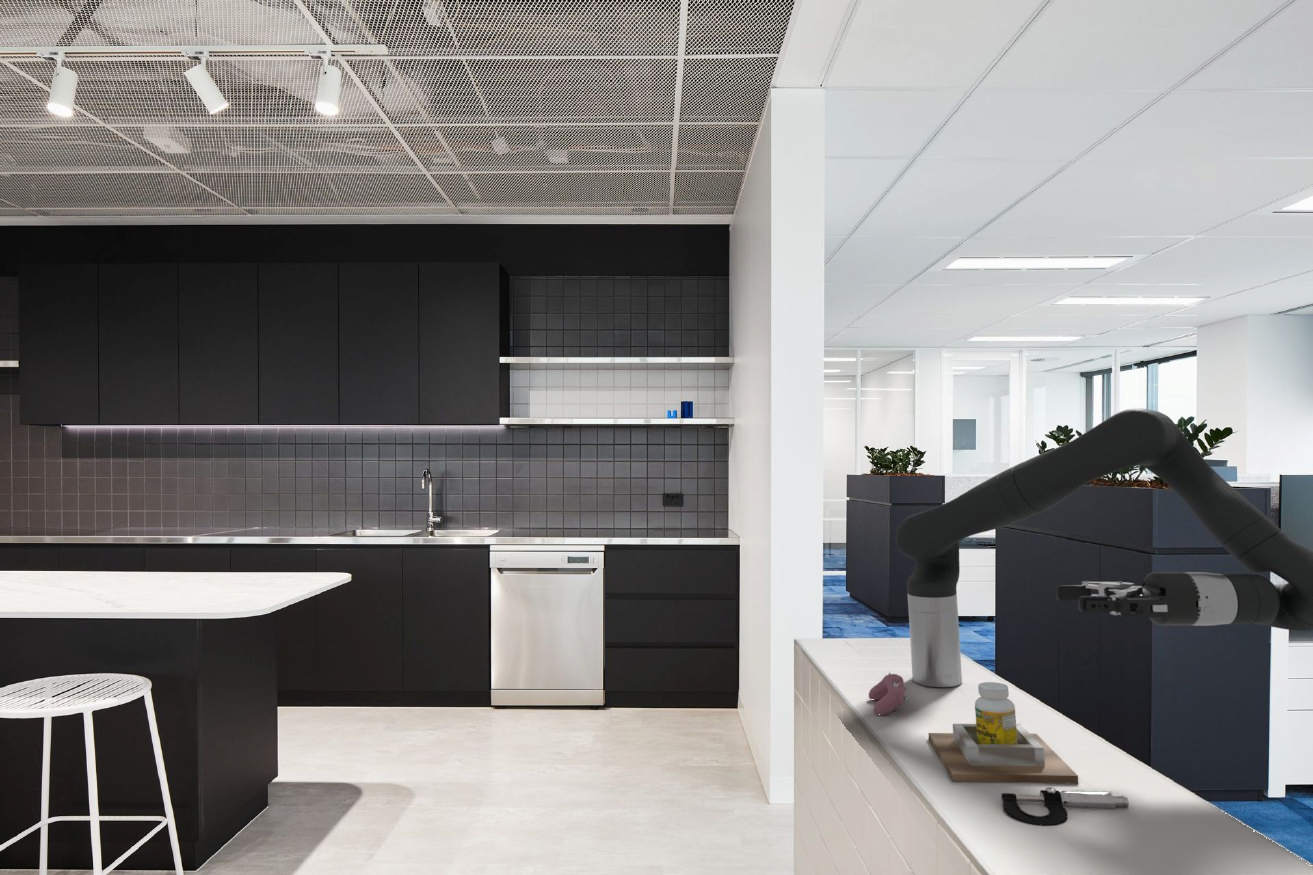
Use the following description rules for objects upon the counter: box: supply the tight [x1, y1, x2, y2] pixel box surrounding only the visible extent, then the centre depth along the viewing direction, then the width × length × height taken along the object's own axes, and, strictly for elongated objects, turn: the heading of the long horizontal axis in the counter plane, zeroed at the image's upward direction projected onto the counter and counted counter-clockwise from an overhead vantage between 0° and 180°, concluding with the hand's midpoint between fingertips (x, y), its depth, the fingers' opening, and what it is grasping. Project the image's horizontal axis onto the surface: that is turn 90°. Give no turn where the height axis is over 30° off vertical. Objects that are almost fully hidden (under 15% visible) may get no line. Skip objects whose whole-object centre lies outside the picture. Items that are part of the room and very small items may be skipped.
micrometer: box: [1001, 786, 1130, 827], centre depth 93 cm, size 15×7×2 cm, turn 80°
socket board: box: [927, 723, 1079, 784], centre depth 110 cm, size 16×16×4 cm
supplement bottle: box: [974, 681, 1018, 745], centre depth 110 cm, size 5×5×10 cm
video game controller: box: [868, 672, 908, 716], centre depth 135 cm, size 10×5×7 cm, turn 170°
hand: (1067, 598), depth 111 cm, fingers open, 8 cm apart
